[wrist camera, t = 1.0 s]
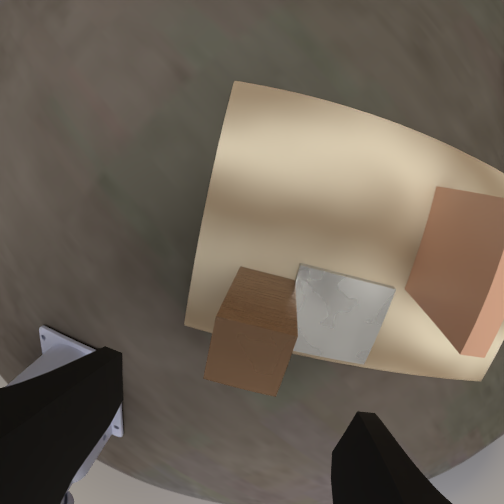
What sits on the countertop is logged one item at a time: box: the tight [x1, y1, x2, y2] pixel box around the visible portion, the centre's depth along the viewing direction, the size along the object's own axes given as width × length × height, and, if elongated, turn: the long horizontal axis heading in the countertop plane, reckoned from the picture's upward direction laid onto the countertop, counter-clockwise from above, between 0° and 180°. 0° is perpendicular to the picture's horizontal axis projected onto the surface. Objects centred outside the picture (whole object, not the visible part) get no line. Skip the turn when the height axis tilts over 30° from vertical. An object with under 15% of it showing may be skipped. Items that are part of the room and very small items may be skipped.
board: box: [184, 81, 504, 381], centre depth 16 cm, size 14×22×1 cm, turn 77°
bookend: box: [203, 263, 396, 397], centre depth 14 cm, size 5×8×6 cm, turn 77°
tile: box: [405, 186, 504, 358], centre depth 12 cm, size 6×2×7 cm, turn 167°
